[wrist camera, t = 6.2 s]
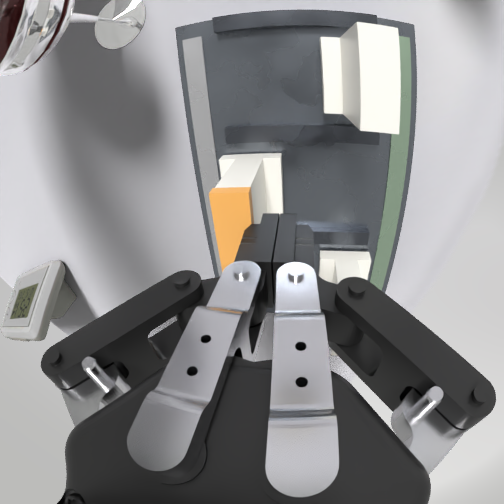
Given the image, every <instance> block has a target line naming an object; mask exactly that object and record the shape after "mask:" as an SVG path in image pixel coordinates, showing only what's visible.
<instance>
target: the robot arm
mask: <svg viewBox="0 0 504 504" xmlns="http://www.w3.org/2000/svg"><path fill="white" fill-rule="evenodd" d="M274 299H275V314H274V336H273V360H266V361H259V362H255V358H256V354H257V350H258V347H259V343H260V339H261V336H262V332H263V328H264V324H265V315H266V310H267V308H273V306H274ZM174 316H176V319H177V321H175V322H174V323H172V324H171V325H169V326H168V327H166V328H165V329H163V330H161V331H160V332H158V333H157V334H155V335H153V336H152V337H150V338H148V335H149V333H150V332H151V331H152V330H153V329H155V328H156V327H158V326H159V325H161V324H163V323H164V322H166V321H167V320H169V319H171V318H172V317H174ZM328 344H329V346H330V348H331V349H332V350H333V351H334V352H335V353H336V354H337V355H338V356H339V357H340V358H341V359H342V360H343V361H344V362H345V363H346V364H347V365H348V366H349V367H350V368H351V369H352V370H353V371H354V372H355V374H356V375H357V376H358V377H359V378H360V379H361V380H362V381H363V382H365V384H366V385H367V386H368V387H369V388H370V389H371V390H372V391H373V392H374V393H375V394H376V395H377V396H378V397H379V398H380V399H381V400H382V401H383V402H384V403H385V404H386V405H387V406H388V407H389V408H390V409H391V410H392V411H393V414H392V417H391V425H392V428H393V430H394V432H395V433H396V434H395V433H394V432H393V431H392V430H391V429H390V428H389V427H388V425H387V424H386V423H385V422H384V421H383V420H382V419H381V417H380V416H379V415H378V414H377V413H376V412H375V411H374V410H373V408H372V407H371V406H370V405H369V404H368V403H367V402H366V400H365V399H364V398H363V397H362V396H361V395H360V394H359V392H357V390H356V389H355V388H354V387H353V386H352V385H351V384H350V383H349V382H348V381H347V380H346V379H344V378H343V377H341V376H340V375H338V374H336V373H334V372H332V371H331V368H330V358H329V349H328ZM41 368H42V371H43V372H44V373H45V374H46V375H47V377H48V378H50V379H51V380H52V381H53V382H54V383H55V385H56V386H57V387H58V388H59V389H60V390H61V392H62V395H63V398H64V400H65V403H66V405H67V408H68V411H69V413H70V416H71V418H72V420H73V423H74V425H75V428H74V429H73V430H72V432H71V433H70V435H69V437H68V439H67V442H66V447H65V448H66V449H65V457H66V458H65V459H66V470H67V480H66V489H65V493H64V495H63V497H62V499H61V500H60V501H59V502H58V503H57V504H428V501H429V497H430V491H431V490H430V489H431V484H430V478H429V474H430V472H432V471H433V470H434V468H435V467H436V466H437V465H438V464H439V463H440V462H441V461H442V459H443V458H444V457H445V456H446V455H447V454H448V452H449V451H450V450H451V449H452V448H453V446H454V445H455V444H456V443H457V441H458V440H459V439H460V437H461V436H462V435H463V433H464V432H466V431H467V430H469V429H470V428H471V427H473V426H474V425H475V424H477V423H478V422H479V421H481V420H482V419H483V418H484V417H486V416H487V415H488V414H489V413H490V412H491V411H492V410H493V408H494V406H495V402H496V394H495V390H494V388H493V386H492V384H491V383H490V382H489V381H488V380H487V379H486V378H485V377H484V376H483V375H482V374H480V372H478V371H477V370H476V369H475V368H474V367H473V366H472V365H471V364H469V363H468V362H467V361H466V360H465V359H464V358H463V357H461V356H460V355H459V354H458V353H457V352H456V351H455V350H453V349H452V348H451V347H450V346H448V345H447V344H446V343H445V342H444V341H443V340H442V339H440V338H439V337H438V336H437V335H436V334H434V333H433V332H432V331H431V330H430V329H428V328H427V327H426V326H425V325H424V324H422V323H421V322H420V321H419V320H417V319H416V318H415V317H414V316H413V315H411V314H410V313H409V312H408V311H406V310H405V309H404V308H403V307H401V306H400V305H399V304H398V303H396V302H395V301H394V300H393V299H391V298H390V297H389V296H387V295H386V294H385V293H384V292H382V291H381V290H380V289H378V288H377V287H376V286H375V285H373V284H372V283H371V282H369V281H368V280H366V279H363V278H360V277H348V278H345V279H343V280H341V281H340V282H339V283H338V284H335V283H331V282H328V281H326V280H324V279H322V278H321V277H319V276H318V275H317V273H316V271H315V268H314V240H313V230H312V229H311V228H310V226H309V225H297V214H287V213H281V214H279V213H263V215H262V219H261V223H260V224H251V225H250V226H249V227H247V228H246V229H245V231H244V233H243V236H242V239H241V242H240V245H239V248H238V251H237V254H236V257H235V260H234V262H233V263H231V264H229V265H228V266H227V267H226V268H225V269H224V270H223V272H222V274H221V276H219V277H216V278H211V279H206V280H201V277H200V275H199V274H198V273H196V272H194V271H189V270H185V271H180V272H177V273H174V274H173V275H171V276H169V277H167V278H166V279H164V280H162V281H160V282H159V283H157V284H155V285H154V286H152V287H150V288H148V289H147V290H145V291H143V292H142V293H140V294H138V295H136V296H135V297H133V298H131V299H130V300H128V301H126V302H124V303H123V304H121V305H119V306H118V307H116V308H114V309H113V310H111V311H109V312H108V313H106V314H104V315H103V316H101V317H99V318H98V319H96V320H94V321H93V322H91V323H89V324H88V325H86V326H84V327H83V328H81V329H79V330H78V331H76V332H74V333H73V334H71V335H70V336H68V337H66V338H65V339H63V340H61V341H60V342H58V343H56V344H55V345H53V346H52V347H50V348H49V349H48V350H47V351H46V352H45V354H44V355H43V358H42V361H41ZM397 436H398V437H397Z"/></svg>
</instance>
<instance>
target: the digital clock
mask: <svg viewBox="0 0 504 504" xmlns="http://www.w3.org/2000/svg"><path fill="white" fill-rule="evenodd" d="M64 276H65V266H64V264H63V263H62V262H61V261H49V262H47V263H45V264H42V265H40V266H38V267H36V268H34V269H32V270H30V271H28V272H25V273H23V274H21V275H20V276H19V277H18V278H17V280H16V283H15V285H14V288H13V291H12V294H11V296H10V299H9V302H8V305H7V308H6V312H5V315H4V318H3V322H2V325H1V332H2V334H3V336H4V337H7V338H10V339H12V340H21V341H30V340H34V341H41V340H44V339H45V337H46V334H47V331H48V327H49V324H50V320H51V319H57V318H61V317H62V316H63V315H64V314H65V313H66V312H67V310H68V309H69V307H70V306H71V305H72V303H73V302H74V301H75V299H76V295H75V294H74V292H73V291H72V290H71V289H70V287H69V286H68V285H67V283H66V282H65V281H64Z"/></svg>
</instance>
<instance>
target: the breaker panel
mask: <svg viewBox="0 0 504 504" xmlns="http://www.w3.org/2000/svg"><path fill="white" fill-rule="evenodd" d="M212 19H213V20H210V21H204V22H199V23H194V24H190V25H185V26H181V27H177V28H175V29H176V39H177V48H178V57H179V65H180V73H181V81H182V89H183V96H184V104H185V111H186V118H187V124H188V131H189V137H190V144H191V150H192V156H193V162H194V168H195V174H196V180H197V186H198V192H199V197H200V203H201V208H202V214H203V219H204V224H205V229H206V234H207V240H208V245H209V250H210V255H211V259H212V264H213V269H214V274H215V278H216V277H219V276H221V274H222V267H221V262H220V256H219V251H218V245H217V240H216V234H215V228H214V222H213V217H212V211H211V205H210V199H209V192H210V191H211V190H212V188H215V187H216V185H217V184H218V182H219V181H220V180H221V172H220V165H219V159H220V158H221V157H222V156H223V155H235V154H260V153H282V170H283V195H284V213H287V214H297V225H309V226H310V228H311V229H312V230H313V240H314V268H315V271H316V273H317V275H318V272H319V258H320V251H358V252H369V254H370V257H371V265H370V269H369V274H368V279H367V280H368V281H369V282H371V283H372V284H373V285H375V286H376V287H377V288H378V289H380V290H381V291H382V292H384V293H385V291H386V288H387V284H388V281H389V277H390V273H391V270H392V266H393V262H394V258H395V254H396V249H397V245H398V241H399V236H400V232H401V227H402V222H403V217H404V211H405V206H406V200H407V194H408V187H409V181H410V173H411V166H412V157H413V147H414V136H415V122H416V98H417V66H416V44H415V31H414V25H413V24H409V23H404V22H399V21H394V20H388V19H383V18H377V15H371V14H363V13H354V12H344V11H329V10H276V11H261V12H250V13H241V14H233V15H226V16H220V17H214V18H212ZM356 22H363V23H371V24H378V25H384V26H390V27H395V28H398V33H399V47H400V73H401V99H400V126H399V134H390V133H380V132H369V131H360V130H359V129H358V128H357V127H356V126H355V125H354V124H353V123H352V122H351V121H350V120H349V119H348V118H346V117H345V116H344V115H343V114H329V113H324V112H323V94H322V72H321V56H320V42H319V39H320V37H337V38H340V37H341V36H342V35H343V34H344V33H345V32H346V31H347V30H348V29H349V28H351V27H352V26H353V25H354V24H355V23H356ZM266 312H271V313H275V299H274V306H273V308H267V310H266Z"/></svg>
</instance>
